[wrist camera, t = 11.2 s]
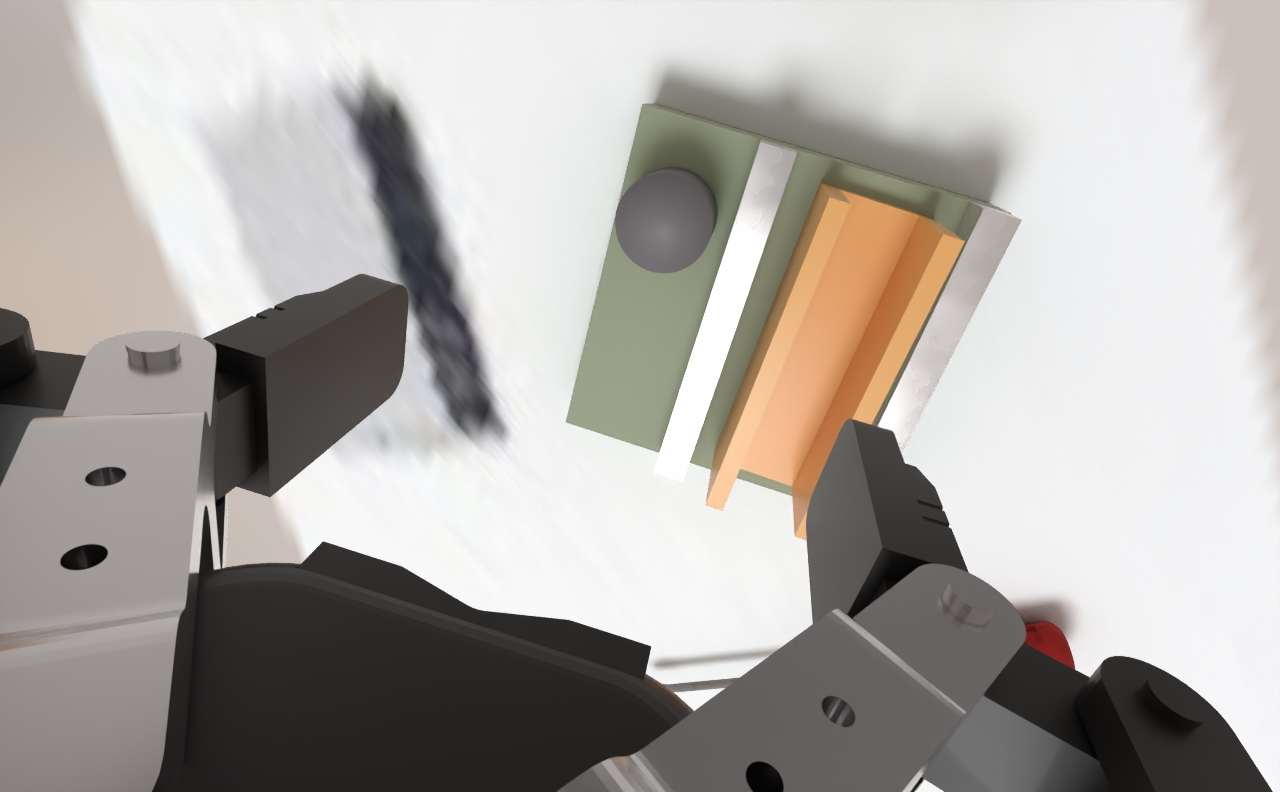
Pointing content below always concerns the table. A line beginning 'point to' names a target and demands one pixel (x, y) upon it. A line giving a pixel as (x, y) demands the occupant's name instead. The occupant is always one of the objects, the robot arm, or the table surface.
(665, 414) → the marble run board
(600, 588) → the table surface
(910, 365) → the chute cradle
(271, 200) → the table surface
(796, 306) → the discharge chute
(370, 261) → the table surface
